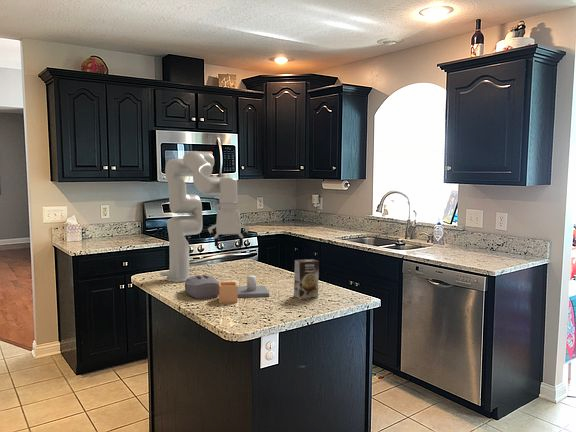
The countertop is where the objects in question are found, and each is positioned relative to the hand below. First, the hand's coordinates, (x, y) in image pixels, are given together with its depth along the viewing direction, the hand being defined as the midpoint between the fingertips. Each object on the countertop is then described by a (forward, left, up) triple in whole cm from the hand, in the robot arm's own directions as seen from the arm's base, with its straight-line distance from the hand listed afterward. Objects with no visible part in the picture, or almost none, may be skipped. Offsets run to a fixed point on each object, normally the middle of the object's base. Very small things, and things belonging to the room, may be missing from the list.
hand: (228, 247), depth 201 cm
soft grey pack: (-11, +11, -22) cm, 27 cm away
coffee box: (+34, 0, -22) cm, 40 cm away
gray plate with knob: (+11, +9, -22) cm, 26 cm away
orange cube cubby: (0, -2, -22) cm, 22 cm away
